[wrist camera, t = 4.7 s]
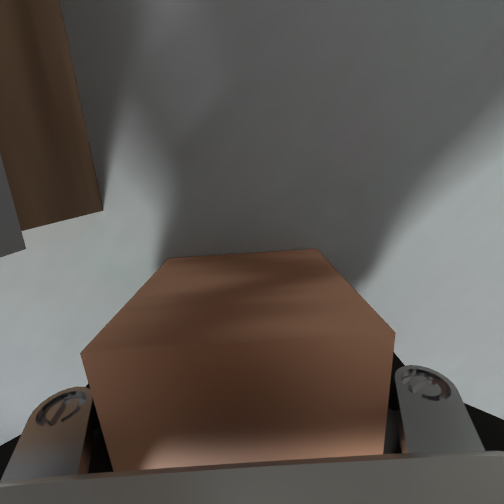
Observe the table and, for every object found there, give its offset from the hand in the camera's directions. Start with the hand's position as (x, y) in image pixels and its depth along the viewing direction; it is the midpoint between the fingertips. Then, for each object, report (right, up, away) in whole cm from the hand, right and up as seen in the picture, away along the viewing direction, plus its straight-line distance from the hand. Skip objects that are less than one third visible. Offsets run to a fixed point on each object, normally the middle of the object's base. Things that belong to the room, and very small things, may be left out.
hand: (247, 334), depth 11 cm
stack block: (0, 0, +1) cm, 1 cm away
